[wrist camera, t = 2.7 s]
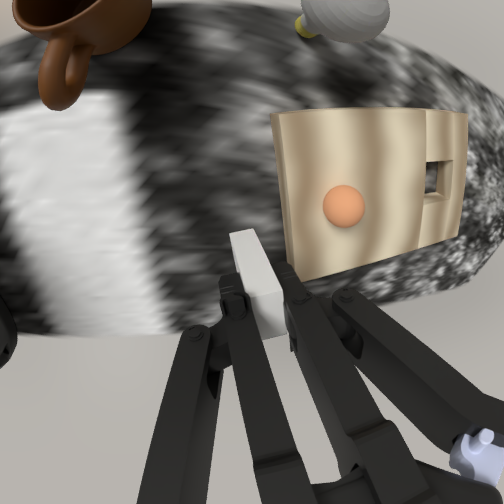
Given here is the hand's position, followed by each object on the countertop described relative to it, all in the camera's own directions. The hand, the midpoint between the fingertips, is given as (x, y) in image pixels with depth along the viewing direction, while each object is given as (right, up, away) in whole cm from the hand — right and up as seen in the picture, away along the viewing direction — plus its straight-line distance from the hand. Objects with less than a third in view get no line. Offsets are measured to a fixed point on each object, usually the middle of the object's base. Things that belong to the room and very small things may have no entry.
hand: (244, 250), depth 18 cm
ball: (+8, +3, +4) cm, 9 cm away
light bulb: (+5, +18, 0) cm, 19 cm away
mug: (-11, +16, -3) cm, 20 cm away
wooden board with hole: (+14, +7, +8) cm, 17 cm away
